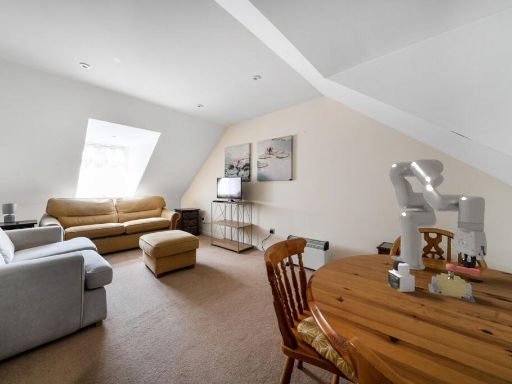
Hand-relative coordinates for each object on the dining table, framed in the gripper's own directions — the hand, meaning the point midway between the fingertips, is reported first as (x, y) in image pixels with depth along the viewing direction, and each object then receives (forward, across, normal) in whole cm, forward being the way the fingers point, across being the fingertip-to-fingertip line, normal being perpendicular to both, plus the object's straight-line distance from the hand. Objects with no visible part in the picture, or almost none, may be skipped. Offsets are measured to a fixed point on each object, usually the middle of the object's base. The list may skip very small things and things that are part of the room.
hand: (468, 270), depth 87 cm
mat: (+11, -2, -6) cm, 13 cm away
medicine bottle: (+11, -6, -24) cm, 27 cm away
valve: (+11, -1, -6) cm, 12 cm away
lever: (+1, +1, -4) cm, 4 cm away
